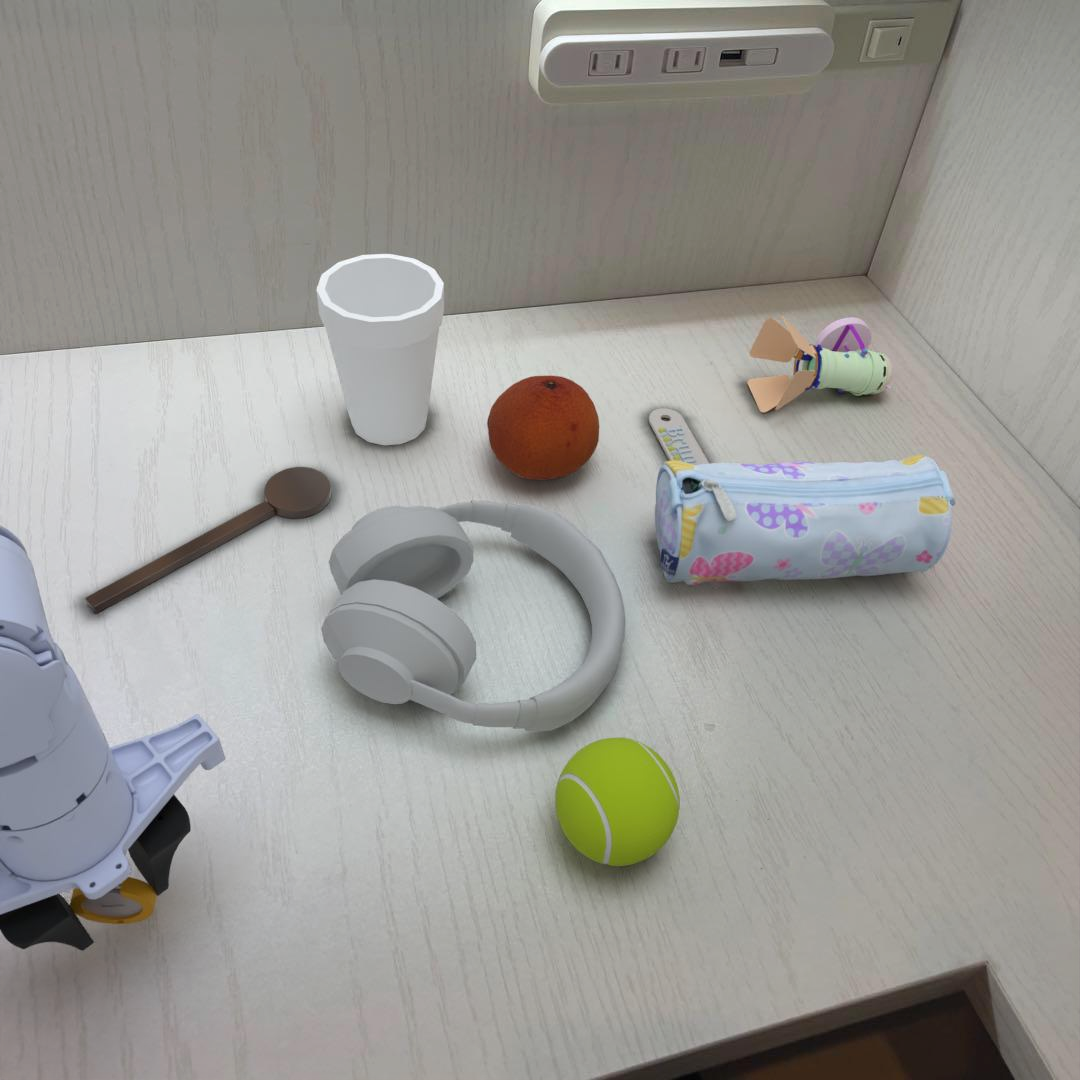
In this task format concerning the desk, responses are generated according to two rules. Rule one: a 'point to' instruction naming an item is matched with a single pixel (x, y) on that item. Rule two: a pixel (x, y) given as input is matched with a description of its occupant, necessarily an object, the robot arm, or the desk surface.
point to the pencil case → (800, 519)
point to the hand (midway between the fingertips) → (116, 905)
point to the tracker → (117, 903)
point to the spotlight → (819, 362)
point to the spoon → (229, 530)
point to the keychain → (676, 437)
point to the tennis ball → (617, 801)
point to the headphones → (437, 631)
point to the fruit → (543, 427)
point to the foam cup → (383, 341)
